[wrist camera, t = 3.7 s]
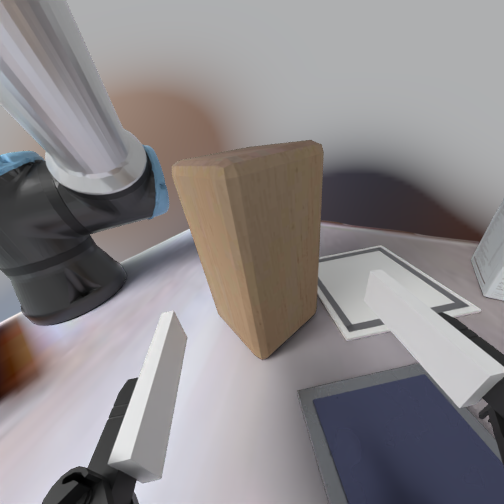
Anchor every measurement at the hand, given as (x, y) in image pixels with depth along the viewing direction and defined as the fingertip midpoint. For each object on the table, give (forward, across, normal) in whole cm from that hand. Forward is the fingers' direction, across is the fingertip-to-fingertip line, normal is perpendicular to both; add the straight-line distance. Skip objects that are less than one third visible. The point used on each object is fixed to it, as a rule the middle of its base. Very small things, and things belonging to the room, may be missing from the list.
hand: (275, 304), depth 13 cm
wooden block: (+9, 0, -11) cm, 14 cm away
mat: (+11, +16, -11) cm, 22 cm away
